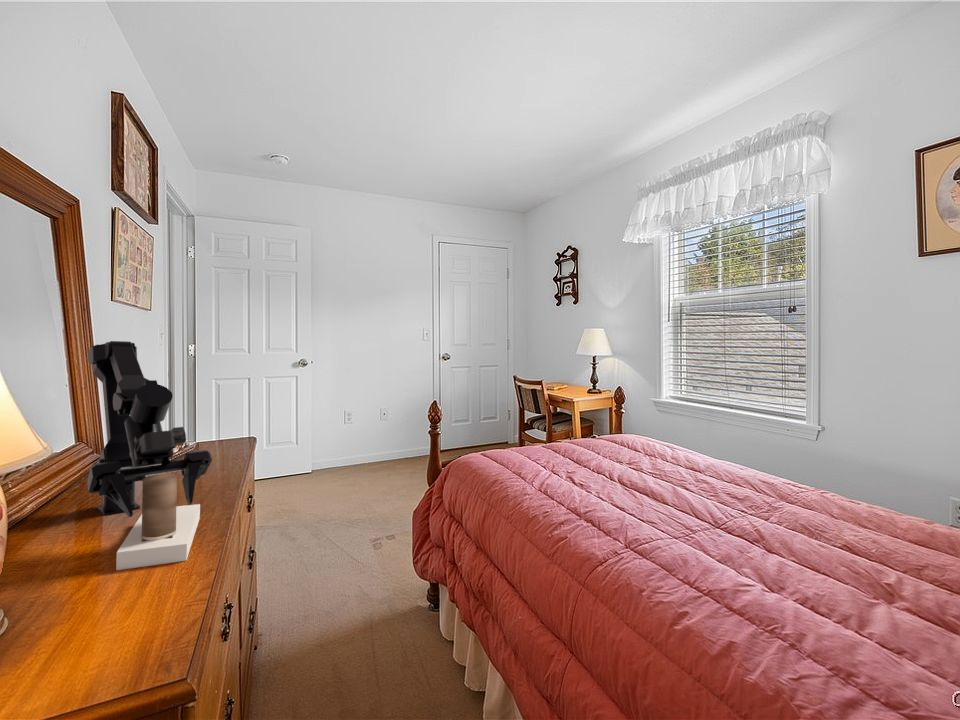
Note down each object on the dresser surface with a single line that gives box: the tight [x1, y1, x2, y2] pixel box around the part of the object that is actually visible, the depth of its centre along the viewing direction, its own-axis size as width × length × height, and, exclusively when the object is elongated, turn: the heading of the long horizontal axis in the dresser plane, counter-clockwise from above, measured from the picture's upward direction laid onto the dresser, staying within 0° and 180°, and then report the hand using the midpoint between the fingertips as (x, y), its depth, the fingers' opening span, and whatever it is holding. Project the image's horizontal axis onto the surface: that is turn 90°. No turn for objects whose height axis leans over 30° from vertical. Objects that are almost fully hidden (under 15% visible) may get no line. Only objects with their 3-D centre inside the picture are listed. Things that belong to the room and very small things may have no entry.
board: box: [115, 503, 201, 571], centre depth 90 cm, size 22×10×3 cm, turn 26°
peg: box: [141, 473, 178, 541], centre depth 86 cm, size 5×5×13 cm
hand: (162, 509), depth 85 cm, fingers open, 9 cm apart
